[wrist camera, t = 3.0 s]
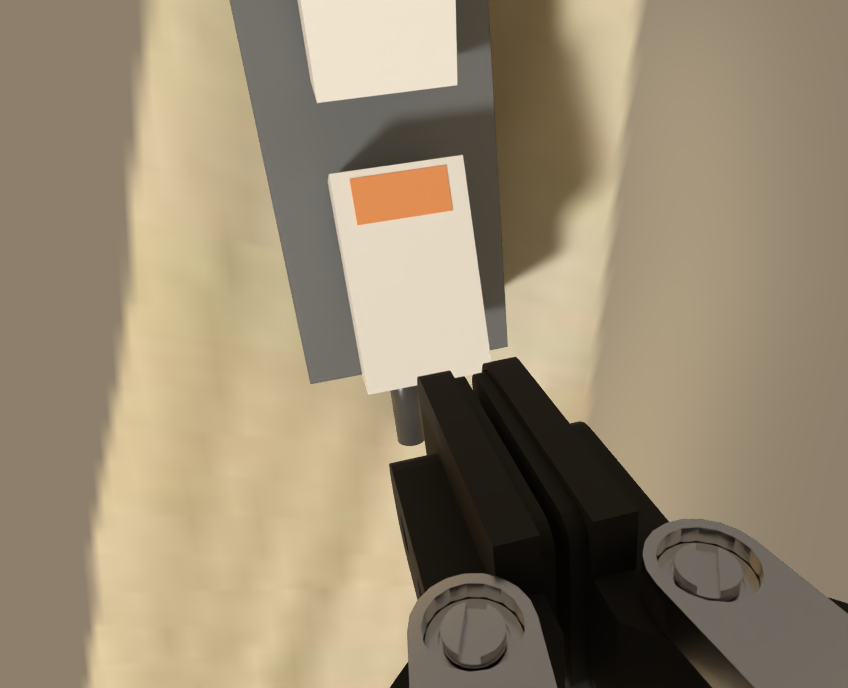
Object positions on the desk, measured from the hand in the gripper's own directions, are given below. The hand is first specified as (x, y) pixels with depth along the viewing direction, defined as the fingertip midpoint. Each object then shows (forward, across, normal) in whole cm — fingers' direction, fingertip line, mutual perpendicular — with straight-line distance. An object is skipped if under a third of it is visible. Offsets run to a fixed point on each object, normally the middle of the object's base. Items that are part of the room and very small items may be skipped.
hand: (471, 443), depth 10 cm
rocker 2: (+8, 0, 0) cm, 8 cm away
